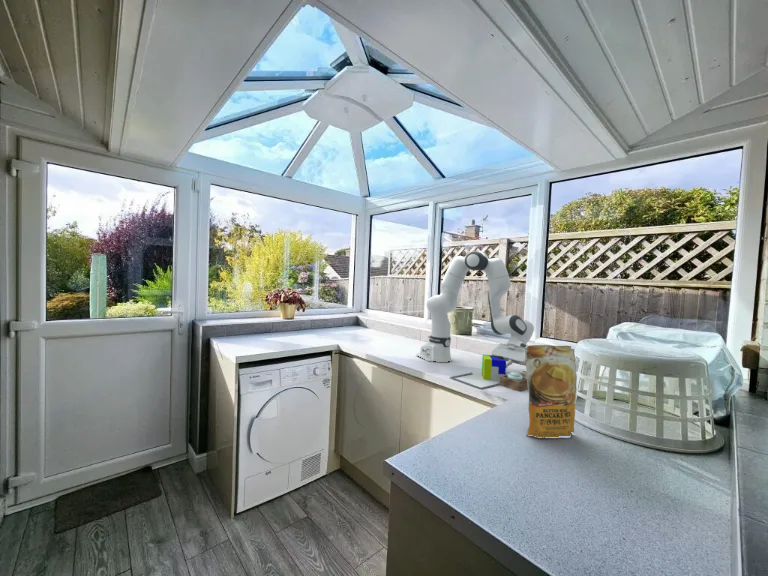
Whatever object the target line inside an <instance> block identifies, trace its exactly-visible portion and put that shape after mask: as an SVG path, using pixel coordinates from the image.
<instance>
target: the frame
mask: <svg viewBox="0 0 768 576" xmlns="http://www.w3.org/2000/svg"><path fill="white" fill-rule="evenodd" d="M469 375H474V374H473V372H467V373H466V372H465V373H462V374H458V375H452V376H449V377H450V378H452V379H451V380H454V381H457V382H460V383H461V384H465V385H467V386H469V387H473V388H474V389H475V388H476V389H478V390H480V391H481V390H486V389H490V388H493V387H496V386H501V385H500V384H499V382H497V383H494V384H489V385H486V386H478V385H474V384H473V383H470V382H467V381H464V380H461V379H458V378H459V377H465V376H469ZM455 377H456V378H455ZM450 378H449V379H450Z"/></svg>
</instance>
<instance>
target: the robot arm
mask: <svg viewBox="0 0 768 576" xmlns="http://www.w3.org/2000/svg"><path fill="white" fill-rule="evenodd" d="M469 271H477V272H478V271H483V272H484V273H485V275H486V278H487V282H488V286H489V287H488V288H489V289H488V293H487V298H488V299H487V300H488V305H489V306H488V308H489V313H490V327H491V330H492V332H493V333H494V334H495V335H498V336H502V335H509V334H510V337H509V340H508V341H507V343H506V344H505V343H498V344H497V343H496V346H495V347H493V349H492V350H491V352H490V354H491V355H493V356H503V357H504V359H505V360H506V369H508V367H510V366H511V365H513V364H517V365H520V366H523V367H526V357H525V353H526V348H527V347H528V346H529V345H528V344H527V343H528V342H530V340H531V338H532V336H533V333H534V328H535V327H534V325H533V323H531V321H529V320H526V319H525V320H524V319H522V318H521V317H520V316H519V315H518V314H511V315H506V316H503V315H502V308H501V298H502V297H504V295H505V294H507V292H509V290H510V288H511V279H510V275H509V272H508V269H507V266H506V265H505V262H504V261H503V260H502V258H500V257H499V258H498V257H493V258H490V256H489V255H488V253H486V252H484V251H482V250H472V251H470V252H467V254H466V255H465V256H460V255H458V256H455V257H454V258H453V259H452V260H451V262H450V264H449V266H448V267H447V270H446V272H445V274H444V276H443V279H442V281H441V291H440V294H436V295H432V296H431V297H429V298H428V299H427V301H426V308H427V310H428V311H429V314H430V319H431V335H429V336H427V338H428V341H426V343H424V344H422V346H421V347H420V351H419V352H418V353H416V354H415V356H416V355H417V356H416V357H418V356H419V358H420V357H421V358H420V359H422V358H423V359H422V360H424V359H425V361H427V362H433V361H436V362H437V363H449V362H448V361H450V362H452V361H451V360H452V356H451V341H452V340H451V326H452V324H451V322H450V320H449V316H448V313H452V312H453V311H455V310H456V308H457V307H458V297H459V296H458V295H459V293H460V290H461V288H462V286H463V285H462V284H463V282H464V281H465V278H466V275H467V273H468V272H469ZM436 362H435V363H436Z"/></svg>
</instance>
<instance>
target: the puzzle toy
mask: <svg viewBox="0 0 768 576" xmlns="http://www.w3.org/2000/svg"><path fill="white" fill-rule="evenodd" d="M481 358H482V362H481V375H482V378H483V380H488V381H489V380H490V381H498V382H499V381H500V376H505V375H507V371H506V370H507V368H506V363H507V361H506V360H505V359H504V357H503V356H493V355H490V354H482V357H481Z"/></svg>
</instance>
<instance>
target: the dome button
mask: <svg viewBox="0 0 768 576" xmlns="http://www.w3.org/2000/svg"><path fill="white" fill-rule="evenodd" d="M507 375H508V378H509V379H512V380H516V381H520V380H522V379H523V376H522V375H520V373H518V371H517V372H516V371H510V372H509V373H507Z"/></svg>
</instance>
